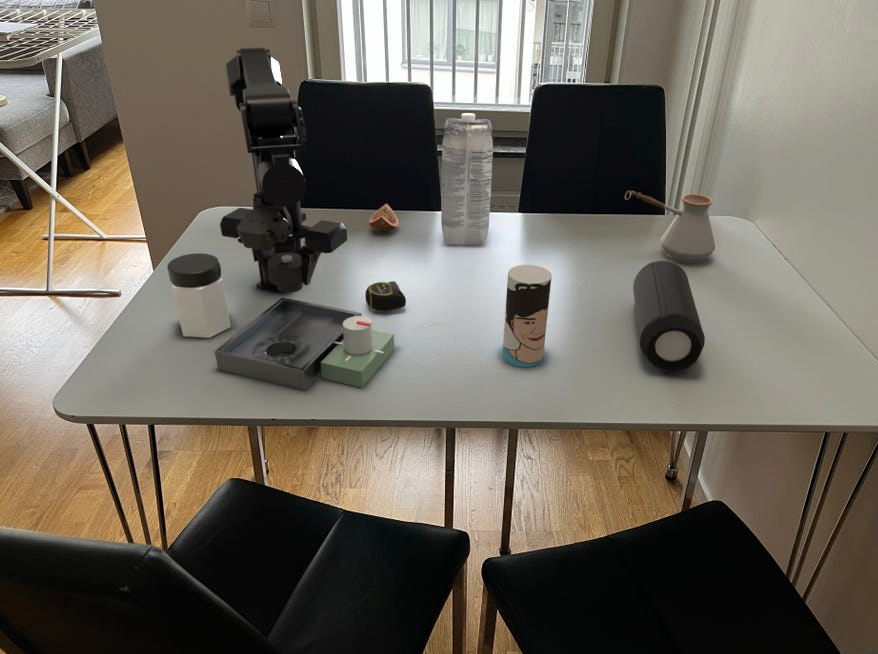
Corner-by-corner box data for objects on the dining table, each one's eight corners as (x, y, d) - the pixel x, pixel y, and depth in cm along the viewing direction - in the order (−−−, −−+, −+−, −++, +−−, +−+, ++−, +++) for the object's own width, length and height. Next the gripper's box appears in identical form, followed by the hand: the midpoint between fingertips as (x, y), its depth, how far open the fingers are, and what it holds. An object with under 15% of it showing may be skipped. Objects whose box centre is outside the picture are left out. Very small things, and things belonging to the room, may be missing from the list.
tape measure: (407, 312, 128) (406, 294, 126) (370, 317, 126) (369, 298, 124) (398, 296, 134) (398, 278, 132) (362, 300, 132) (361, 282, 130)
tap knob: (339, 351, 111) (337, 325, 108) (352, 338, 114) (350, 312, 112) (365, 357, 109) (363, 330, 107) (377, 343, 113) (375, 317, 110)
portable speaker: (699, 380, 112) (713, 325, 107) (636, 373, 113) (646, 319, 108) (681, 306, 133) (691, 257, 128) (628, 301, 134) (636, 253, 129)
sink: (225, 368, 111) (223, 357, 110) (285, 317, 126) (284, 307, 125) (303, 386, 107) (302, 375, 106) (356, 331, 122) (355, 321, 121)
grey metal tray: (217, 370, 111) (214, 351, 109) (284, 314, 126) (281, 297, 125) (305, 390, 107) (303, 371, 105) (362, 330, 122) (361, 312, 120)
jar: (234, 333, 120) (223, 269, 114) (184, 343, 117) (170, 278, 111) (225, 310, 127) (214, 248, 121) (177, 319, 124) (163, 256, 117)
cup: (508, 369, 113) (515, 285, 105) (497, 347, 119) (502, 266, 111) (548, 364, 115) (557, 281, 107) (535, 343, 120) (543, 263, 112)
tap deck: (317, 377, 110) (315, 360, 108) (352, 340, 119) (351, 324, 118) (367, 389, 107) (366, 371, 106) (399, 350, 117) (398, 334, 115)
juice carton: (488, 248, 154) (494, 122, 140) (440, 246, 154) (441, 120, 140) (487, 232, 162) (493, 111, 147) (442, 231, 162) (443, 109, 147)
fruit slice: (395, 238, 158) (394, 216, 155) (365, 236, 158) (364, 215, 155) (400, 224, 165) (400, 203, 162) (372, 222, 165) (371, 202, 162)
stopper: (263, 292, 109) (258, 261, 107) (283, 277, 114) (279, 247, 112) (297, 298, 108) (293, 267, 105) (316, 282, 113) (313, 252, 110)
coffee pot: (699, 244, 159) (713, 179, 151) (721, 266, 149) (738, 198, 141) (608, 247, 156) (617, 181, 148) (624, 269, 147) (636, 200, 139)
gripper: (188, 192, 98) (207, 292, 106) (307, 210, 93) (317, 314, 102) (234, 170, 107) (248, 264, 115) (345, 185, 102) (351, 282, 111)
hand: (289, 281), depth 111 cm, fingers closed on stopper, 6 cm apart
